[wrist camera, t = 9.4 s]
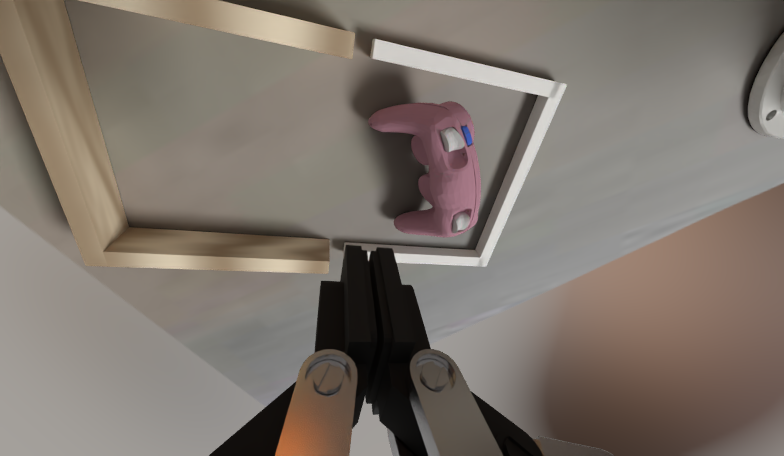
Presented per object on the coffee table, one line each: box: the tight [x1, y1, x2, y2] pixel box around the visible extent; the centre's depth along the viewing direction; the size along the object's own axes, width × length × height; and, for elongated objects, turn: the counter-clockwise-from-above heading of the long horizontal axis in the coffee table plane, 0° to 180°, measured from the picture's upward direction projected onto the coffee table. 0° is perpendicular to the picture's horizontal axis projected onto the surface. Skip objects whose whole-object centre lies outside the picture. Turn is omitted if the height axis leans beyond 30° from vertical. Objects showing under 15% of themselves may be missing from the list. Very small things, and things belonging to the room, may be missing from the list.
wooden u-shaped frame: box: [0, 0, 355, 274], centre depth 19 cm, size 15×16×3 cm
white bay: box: [343, 39, 567, 267], centre depth 23 cm, size 14×16×1 cm
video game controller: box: [368, 102, 481, 237], centre depth 21 cm, size 10×5×7 cm, turn 13°
